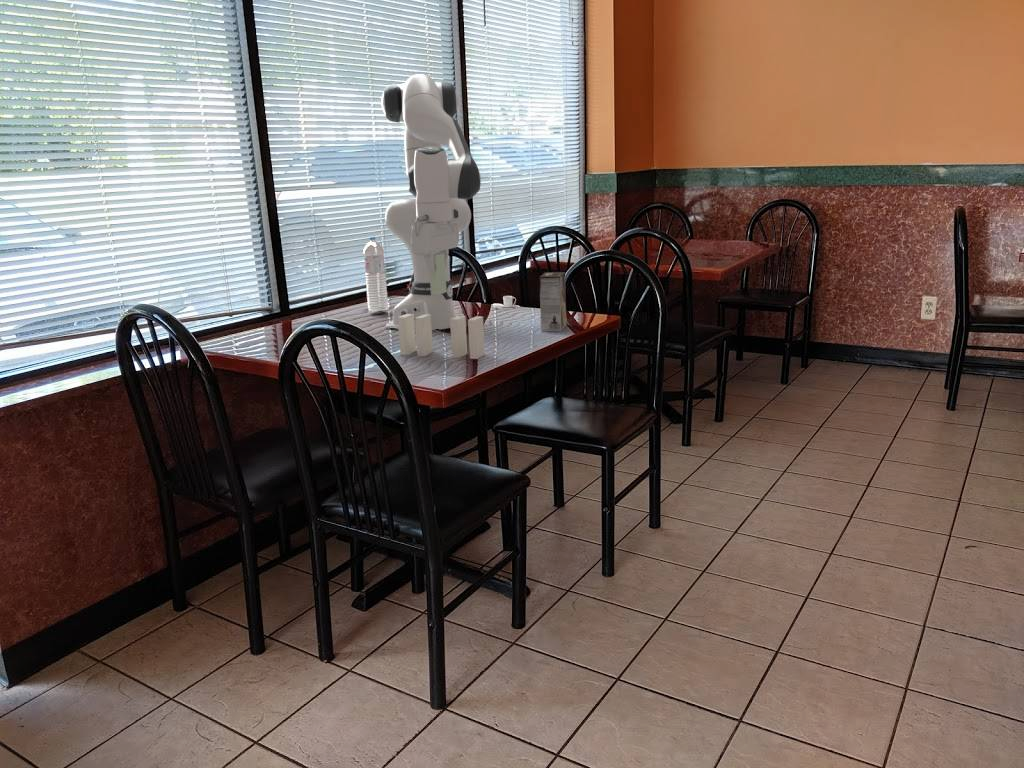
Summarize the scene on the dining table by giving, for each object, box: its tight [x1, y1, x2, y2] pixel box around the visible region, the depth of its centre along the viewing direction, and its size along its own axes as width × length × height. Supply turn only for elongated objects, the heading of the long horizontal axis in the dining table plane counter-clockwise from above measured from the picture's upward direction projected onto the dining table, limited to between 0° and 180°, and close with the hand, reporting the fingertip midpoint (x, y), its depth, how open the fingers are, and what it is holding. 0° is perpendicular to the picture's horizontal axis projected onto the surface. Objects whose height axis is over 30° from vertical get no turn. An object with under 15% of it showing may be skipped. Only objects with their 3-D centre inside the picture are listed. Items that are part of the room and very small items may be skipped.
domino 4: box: [450, 315, 468, 359], centre depth 213 cm, size 2×5×10 cm, turn 159°
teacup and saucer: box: [492, 295, 520, 310], centre depth 280 cm, size 9×8×4 cm
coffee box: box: [538, 271, 567, 332], centre depth 242 cm, size 9×6×16 cm
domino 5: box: [467, 315, 486, 360], centre depth 211 cm, size 2×5×10 cm, turn 159°
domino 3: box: [430, 253, 447, 295], centre depth 211 cm, size 2×5×10 cm, turn 159°
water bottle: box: [362, 236, 389, 313], centre depth 281 cm, size 7×7×25 cm
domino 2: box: [415, 314, 434, 357], centre depth 217 cm, size 2×5×10 cm, turn 159°
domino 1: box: [398, 314, 417, 356], centre depth 219 cm, size 2×5×10 cm, turn 159°
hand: (437, 269), depth 210 cm, fingers closed on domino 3, 5 cm apart
